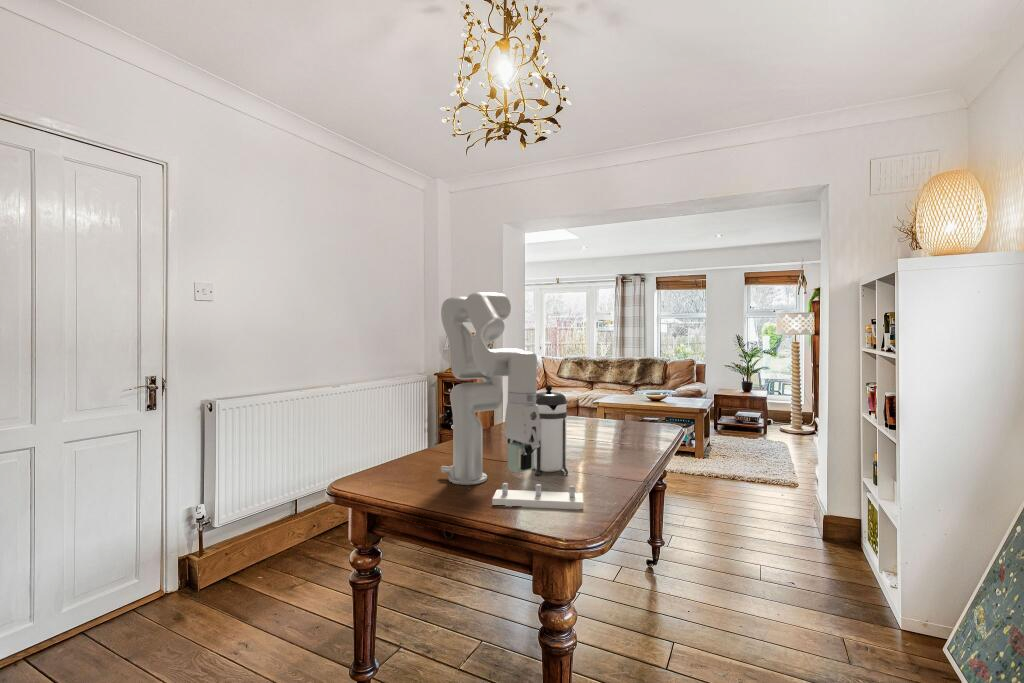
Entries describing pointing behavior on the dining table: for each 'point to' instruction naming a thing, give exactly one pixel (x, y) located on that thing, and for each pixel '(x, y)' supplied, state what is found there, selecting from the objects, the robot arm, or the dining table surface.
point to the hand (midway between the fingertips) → (520, 466)
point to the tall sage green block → (516, 457)
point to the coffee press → (551, 432)
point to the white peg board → (538, 498)
